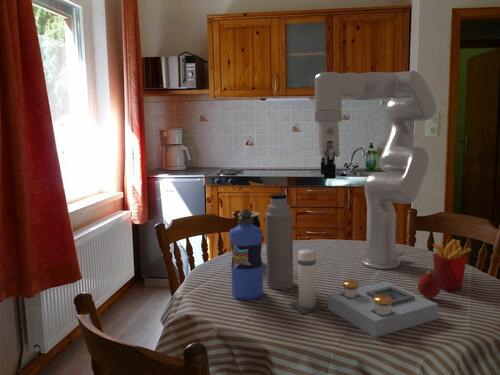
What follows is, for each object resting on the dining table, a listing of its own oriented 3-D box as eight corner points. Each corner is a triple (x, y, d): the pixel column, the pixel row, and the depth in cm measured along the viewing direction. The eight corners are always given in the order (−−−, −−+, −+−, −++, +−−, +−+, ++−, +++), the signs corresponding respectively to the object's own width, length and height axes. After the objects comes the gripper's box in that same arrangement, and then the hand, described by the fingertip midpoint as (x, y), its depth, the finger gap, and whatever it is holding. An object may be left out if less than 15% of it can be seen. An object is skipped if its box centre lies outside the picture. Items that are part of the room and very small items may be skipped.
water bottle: (252, 302, 124) (250, 214, 121) (225, 296, 129) (222, 211, 126) (269, 291, 132) (268, 208, 128) (242, 286, 137) (240, 205, 133)
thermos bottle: (294, 280, 141) (293, 192, 137) (291, 290, 133) (290, 196, 129) (269, 279, 142) (267, 192, 138) (265, 288, 135) (263, 196, 131)
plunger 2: (382, 319, 111) (383, 293, 110) (395, 326, 107) (396, 299, 106) (369, 323, 109) (370, 296, 108) (381, 330, 105) (382, 303, 104)
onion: (439, 296, 126) (440, 268, 125) (440, 304, 120) (441, 275, 119) (417, 294, 128) (417, 267, 127) (417, 302, 122) (418, 273, 121)
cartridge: (315, 301, 123) (315, 248, 121) (316, 309, 118) (316, 254, 116) (298, 301, 123) (297, 249, 121) (298, 309, 119) (298, 254, 116)
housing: (385, 294, 128) (386, 278, 127) (437, 319, 112) (437, 300, 111) (328, 309, 119) (328, 291, 118) (374, 337, 103) (375, 318, 102)
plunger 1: (351, 302, 121) (351, 278, 120) (361, 308, 117) (362, 283, 116) (339, 306, 119) (339, 281, 118) (349, 311, 116) (349, 286, 115)
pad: (310, 299, 125) (310, 298, 125) (325, 308, 119) (325, 307, 119) (289, 304, 122) (289, 303, 122) (303, 314, 116) (303, 312, 116)
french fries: (430, 285, 134) (432, 236, 132) (452, 281, 137) (454, 233, 134) (453, 296, 126) (455, 244, 123) (476, 292, 128) (478, 241, 126)
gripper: (345, 116, 120) (345, 180, 122) (337, 116, 137) (337, 172, 139) (317, 117, 120) (317, 180, 123) (312, 117, 137) (312, 173, 140)
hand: (327, 176), depth 131 cm, fingers open, 9 cm apart
